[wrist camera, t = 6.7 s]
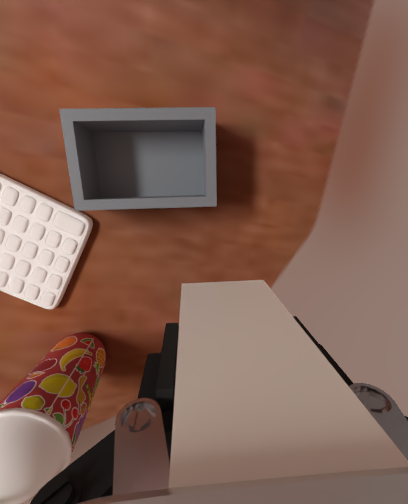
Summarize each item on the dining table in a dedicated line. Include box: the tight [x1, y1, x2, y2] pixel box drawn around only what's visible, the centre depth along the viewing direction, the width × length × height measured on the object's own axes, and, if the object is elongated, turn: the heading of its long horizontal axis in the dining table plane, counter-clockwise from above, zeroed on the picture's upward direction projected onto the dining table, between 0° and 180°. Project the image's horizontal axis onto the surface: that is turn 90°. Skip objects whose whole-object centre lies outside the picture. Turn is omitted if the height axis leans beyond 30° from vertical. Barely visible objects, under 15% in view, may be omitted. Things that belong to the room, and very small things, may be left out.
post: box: [169, 280, 408, 488], centre depth 9 cm, size 4×4×12 cm
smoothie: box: [0, 333, 106, 504], centre depth 25 cm, size 8×8×20 cm
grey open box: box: [59, 107, 217, 211], centre depth 27 cm, size 9×14×6 cm, turn 91°
